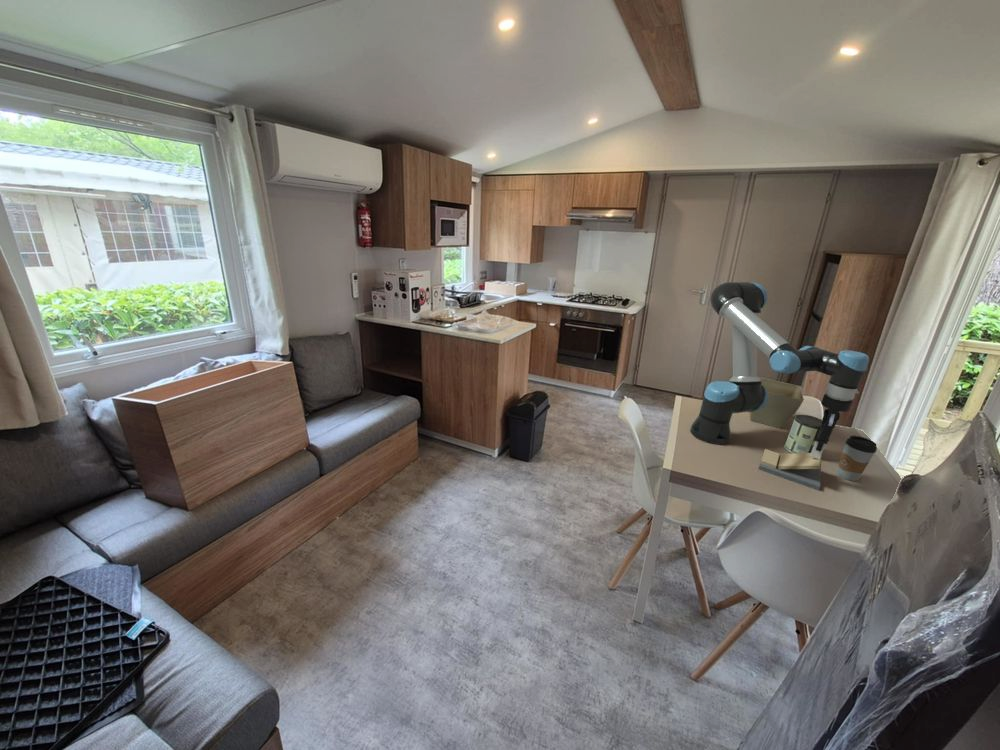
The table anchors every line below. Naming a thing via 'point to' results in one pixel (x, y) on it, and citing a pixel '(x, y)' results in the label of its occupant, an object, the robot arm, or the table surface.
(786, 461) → the plank
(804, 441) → the coffee can
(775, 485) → the table surface
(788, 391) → the flower pot
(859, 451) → the coffee cup
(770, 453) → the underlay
